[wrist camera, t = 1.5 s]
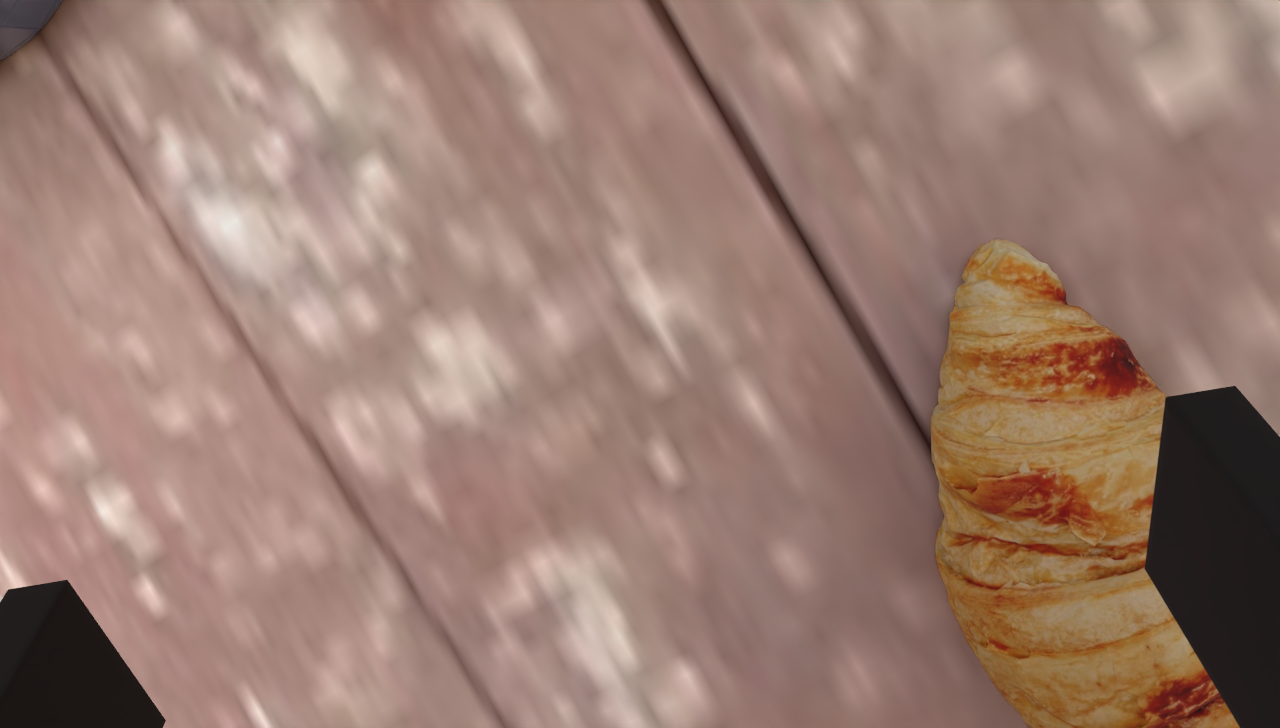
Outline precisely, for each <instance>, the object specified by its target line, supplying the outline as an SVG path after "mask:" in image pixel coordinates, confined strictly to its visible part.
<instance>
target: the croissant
mask: <svg viewBox="0 0 1280 728" xmlns="http://www.w3.org/2000/svg"><path fill="white" fill-rule="evenodd" d="M961 277H962V279H963V280H964V282H965V283H964V284H963V285H961V286H959V287H958V288H957V291H956V293H955V296H954V300H955V303H956V304H955V307H954V309H953V311H952V312H951V313H950V314H949V317H950V328H949V335H948V342H947V349H946V352H945V354H944V356H943V359H942V364H941V369H940V374H939V377H940V383H941V387H940V388H939V389H938V404H937V406H936V407H935V408H934V410H933V414H932V418H931V453H932V462H933V463H934V465H935V470H936V475H937V477H938V479H939V484H940V486H939V494H938V497H939V502H940V506H941V509H942V511H943V513H944V515H945V517H944V519H943V522H942V525H941V527H940V529H939V530H938V532H937V535H936V547H935V557H936V561H937V565H938V569H939V573H940V576H941V578H942V580H943V582H944V584H945V587H946V591H947V595H948V599H949V604H950V606H951V608H952V610H953V612H954V614H955V616H956V618H957V621H958V623H959V625H960V627H961V630H962V632H963V634H964V636H965V639H966V640H967V642H968V644H969V645H970V647H971V648H972V650H973V651H974V653H975V655H976V656H977V658H978V659H979V661H980V662H981V664H982V666H983V667H984V669H985V670H986V672H987V674H988V675H989V677H990V679H991V681H992V682H993V684H994V685H995V687H996V688H997V689H998V691H999V692H1000V693H1001V694H1002V696H1003V697H1004V698H1005V699H1006V700H1007V702H1008V703H1009V704H1010V705H1011V706H1012V707H1013V708H1015V709H1016V710H1017V711H1018V712H1019V714H1020V715H1021V717H1022V718H1023V720H1024V722H1025V723H1026V725H1028V726H1029V727H1031V728H1240V727H1239V725H1238V723H1237V722H1236V720H1235V718H1234V717H1233V715H1232V713H1231V712H1230V710H1229V708H1228V707H1227V705H1226V704H1225V702H1224V700H1223V699H1222V697H1221V695H1220V694H1219V692H1218V690H1217V689H1216V687H1215V685H1214V684H1213V682H1212V680H1211V679H1210V677H1209V675H1208V674H1207V672H1206V670H1205V669H1204V667H1203V665H1202V664H1201V662H1200V660H1199V659H1198V657H1197V655H1196V654H1195V652H1194V650H1193V649H1192V647H1191V645H1190V644H1189V642H1188V640H1187V639H1186V637H1185V635H1184V634H1183V632H1182V630H1181V629H1180V627H1179V625H1178V624H1177V622H1176V620H1175V619H1174V617H1173V615H1172V614H1171V612H1170V610H1169V609H1168V607H1167V605H1166V604H1165V602H1164V600H1163V599H1162V597H1161V595H1160V594H1159V592H1158V590H1157V589H1156V587H1155V585H1154V584H1153V582H1152V580H1151V579H1150V577H1149V575H1148V574H1147V572H1146V570H1145V562H1146V554H1147V545H1148V537H1149V529H1150V521H1151V513H1152V504H1153V496H1154V488H1155V480H1156V472H1157V463H1158V455H1159V447H1160V439H1161V431H1162V422H1163V414H1164V406H1165V398H1166V397H1167V396H1166V395H1165V394H1164V393H1163V392H1162V391H1161V390H1160V389H1158V388H1157V387H1156V385H1155V384H1154V382H1153V381H1152V380H1151V378H1150V377H1149V376H1148V375H1147V373H1146V372H1145V371H1144V369H1143V368H1142V367H1141V366H1140V364H1139V363H1138V362H1137V360H1136V359H1135V357H1134V355H1133V354H1132V352H1131V350H1130V348H1129V347H1128V345H1127V343H1126V341H1125V340H1123V339H1122V338H1120V337H1119V336H1117V335H1116V334H1114V333H1113V332H1112V331H1111V330H1109V329H1108V328H1107V327H1104V326H1101V325H1099V324H1098V323H1097V322H1096V321H1095V320H1094V319H1093V318H1092V317H1091V316H1090V315H1089V314H1088V313H1087V312H1086V311H1084V310H1083V309H1082V308H1080V307H1075V306H1070V305H1068V304H1067V302H1066V293H1065V291H1064V288H1063V286H1062V284H1061V282H1060V280H1059V278H1058V276H1057V275H1056V274H1055V273H1054V272H1053V271H1052V270H1051V268H1050V267H1049V265H1048V264H1047V263H1043V262H1040V261H1038V260H1037V259H1036V258H1035V257H1034V256H1032V255H1031V254H1030V253H1029V251H1027V250H1026V249H1024V248H1023V247H1021V246H1020V245H1018V244H1016V243H1014V242H1011V241H1006V240H1001V239H994V240H993V241H992V242H988V243H987V244H981V245H980V246H979V248H978V249H977V250H976V251H975V252H974V254H973V255H972V256H971V257H970V259H969V260H968V262H967V265H966V267H965V269H964V272H963V274H962V276H961Z"/></svg>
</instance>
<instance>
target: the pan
mask: <svg viewBox="0 0 1280 728" xmlns="http://www.w3.org/2000/svg"><path fill="white" fill-rule="evenodd" d="M62 1H63V0H0V61H1V60H2V59H4V58H6V57H8V56H10V55H12V54H13V53H14V52H16V51H17V50H18V49H19V48H21V47H22V46H23V45H25V44H26V43H27V42H28V41H30V40H31V39H32V38H33V37H34V36H35V35H36V34H37V33H38V32H39V31H40V29H41V28H42V27H43V26H44V25H45V24H46V23H47V22H48V21H49V20H50V18H51V17H52V15H53V14H54V13H55V11H56V10H57V8H58V7H59V5H60V4H61V2H62Z"/></svg>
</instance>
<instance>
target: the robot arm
mask: <svg viewBox="0 0 1280 728" xmlns="http://www.w3.org/2000/svg"><path fill="white" fill-rule="evenodd" d="M1145 570H1146V572H1147V574H1148V575H1149V577H1150V579H1151V580H1152V582H1153V584H1154V585H1155V587H1156V589H1157V590H1158V592H1159V594H1160V595H1161V597H1162V599H1163V600H1164V602H1165V604H1166V605H1167V607H1168V609H1169V610H1170V612H1171V614H1172V615H1173V617H1174V619H1175V620H1176V622H1177V624H1178V625H1179V627H1180V629H1181V630H1182V632H1183V634H1184V635H1185V637H1186V639H1187V640H1188V642H1189V644H1190V645H1191V647H1192V649H1193V650H1194V652H1195V654H1196V655H1197V657H1198V659H1199V660H1200V662H1201V664H1202V665H1203V667H1204V669H1205V670H1206V672H1207V674H1208V675H1209V677H1210V679H1211V680H1212V682H1213V684H1214V685H1215V687H1216V689H1217V690H1218V692H1219V694H1220V695H1221V697H1222V699H1223V700H1224V702H1225V704H1226V705H1227V707H1228V708H1229V710H1230V712H1231V713H1232V715H1233V717H1234V718H1235V720H1236V722H1237V723H1238V725H1239V727H1240V728H1280V437H1279V436H1278V434H1277V433H1276V432H1275V431H1274V430H1273V429H1272V428H1271V426H1270V425H1269V424H1268V423H1267V422H1266V421H1265V420H1264V418H1263V417H1262V416H1261V415H1260V414H1259V413H1258V412H1257V410H1256V409H1255V408H1254V407H1253V406H1252V405H1251V404H1250V402H1249V401H1248V400H1247V399H1246V398H1245V397H1244V396H1243V394H1242V393H1241V392H1240V391H1239V390H1238V389H1237V388H1236V386H1232V387H1225V388H1219V389H1213V390H1207V391H1201V392H1195V393H1189V394H1183V395H1177V396H1171V397H1166V398H1165V406H1164V414H1163V422H1162V431H1161V439H1160V447H1159V455H1158V463H1157V472H1156V480H1155V488H1154V496H1153V504H1152V513H1151V521H1150V529H1149V537H1148V545H1147V554H1146V562H1145ZM165 721H166V720H165V719H164V717H163V716H162V715H161V713H160V712H159V710H158V709H157V707H156V706H155V705H154V703H153V702H152V700H151V699H150V697H149V696H148V695H147V693H146V692H145V690H144V689H143V687H142V686H141V685H140V683H139V682H138V680H137V679H136V677H135V676H134V675H133V673H132V672H131V670H130V669H129V667H128V666H127V665H126V663H125V662H124V660H123V659H122V657H121V656H120V655H119V653H118V652H117V650H116V649H115V647H114V646H113V645H112V643H111V642H110V640H109V639H108V637H107V636H106V635H105V633H104V632H103V630H102V629H101V627H100V626H99V625H98V623H97V622H96V620H95V619H94V617H93V616H92V615H91V613H90V612H89V610H88V609H87V607H86V606H85V605H84V603H83V602H82V600H81V599H80V597H79V596H78V595H77V593H76V592H75V590H74V589H73V587H72V586H71V585H70V583H69V582H68V580H64V581H58V582H52V583H46V584H40V585H34V586H28V587H22V588H16V589H10V590H8V591H7V592H6V594H5V596H4V597H3V599H2V601H1V602H0V728H163V726H164V723H165Z"/></svg>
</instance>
